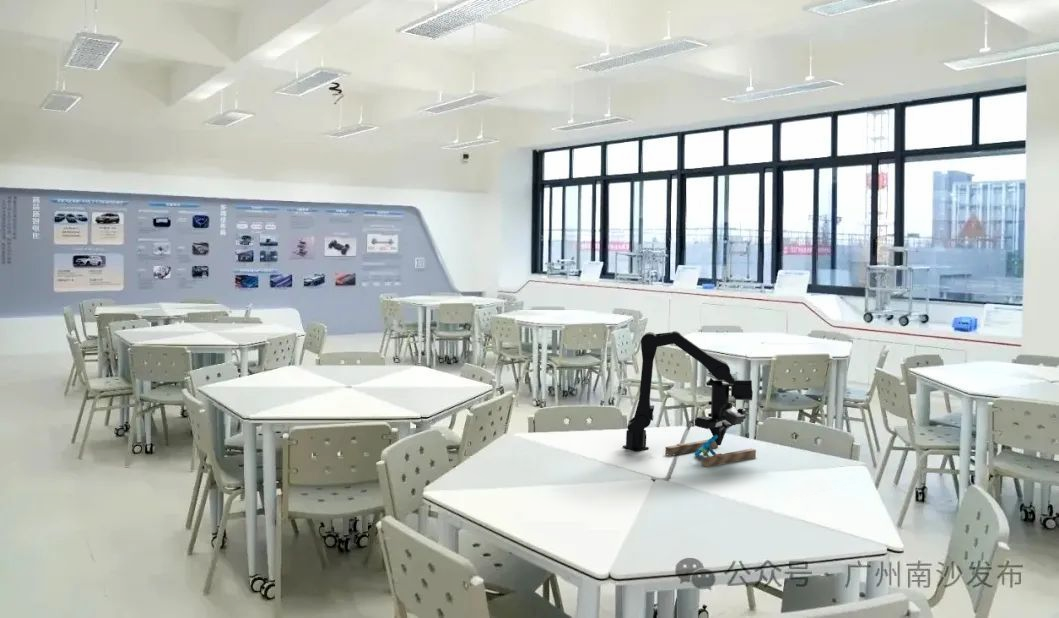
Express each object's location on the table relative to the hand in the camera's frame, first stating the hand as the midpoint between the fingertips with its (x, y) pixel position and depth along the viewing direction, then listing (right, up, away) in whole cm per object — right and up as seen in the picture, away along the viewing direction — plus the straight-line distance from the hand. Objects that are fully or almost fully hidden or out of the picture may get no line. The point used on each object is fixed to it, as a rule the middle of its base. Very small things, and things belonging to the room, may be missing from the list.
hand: (718, 445), depth 268 cm
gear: (-5, -3, -4) cm, 8 cm away
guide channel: (-3, -3, -2) cm, 5 cm away
